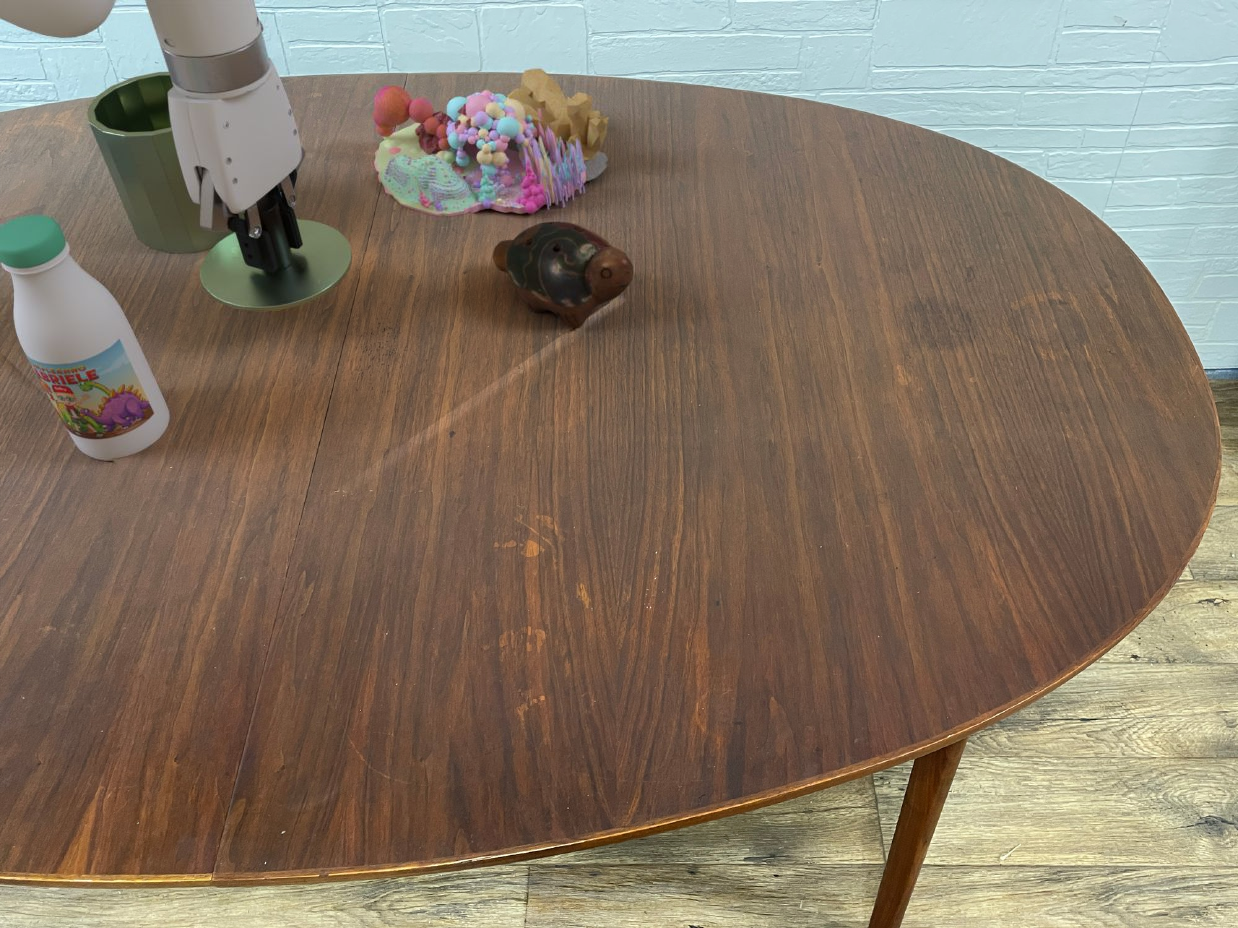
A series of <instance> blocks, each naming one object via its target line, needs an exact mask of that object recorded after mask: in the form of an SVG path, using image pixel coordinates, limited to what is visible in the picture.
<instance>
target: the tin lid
mask: <svg viewBox="0 0 1238 928" xmlns="http://www.w3.org/2000/svg"><path fill="white" fill-rule="evenodd" d="M256 204H257V208H258V213H259V218H260V223H261V228H262V230H263V231H266V232H268V234H269V236H270V240H271V243H272V246H273V250H274V253H275V257H276V260H277V264H278V269H277V270H276V271H275V272H273V273H272V272H268V271H265V270H261V269H258V268H254V267H251V266H248V265H247V264H246V263H245V262H244V259H243V255H242V252H241V249H240V246H239V243H238V240H237V237H236V233H235V232H234V233H233V234H231V235H229V236H227V237H226V238H224V239H223V240H221V241H220V242H218V243H217V244H216V245H215V246H214V247H213V248H212V249H209V251H208V252H207V253H206V254H205V256H204V257H203V260H202V262H201V264H200V268H199V269H200V270H199V271H200V272H199V276H200V277H199V278H200V281H201V284H202V287H203V289H204V291H205V292H206V293H207V294H208V295H209V296H210V298H212V299H213V300H214V301H216V302H217V303H219V304H221V305H223V306H226V307H229V308H232V309H235V310H240V311H246V312H247V311H248V312H263V313H264V312H276V311H281V310H283V311H284V310H287V309H292V308H296V307H300V306H302V305H305V304H308V303H310V302H313V301H315V300H318V299H319V298H322V297H323V296H325V295H326V294H329V292H331V291H332V290H334V289H335V288H336V287H337V286H339V284H341V283H342V282H343V280H344V279H345V278H346V277H347V275H348V273H349V272H350V270H351V266H352V264H353V251H352V247H351V245H350V243H349V240H348V239H347V238H346V237H345V236H344V235H343V234H342V233H341V232H340V231H339V230H338V229H336V228H334V227H332V226H330V225H327V224H325V223H322V222H319V221H314V220H309V219H300V218H299V219H298V218H296V220H297V223H298V227H299V231H300V235H301V238H302V242H303V245H302V246H301V247H300V248H299V249H294V248H290V244H289V241H288V237H287V233H286V230H285V226H284V222H283V219H282V215H281V212H280V208H279V204H278V201H277V199H276V198H275V197H274V196H272V195H267V194H265V195H264V196H263V197H262V198H261V199H259V200H258V201H257V202H256Z"/></svg>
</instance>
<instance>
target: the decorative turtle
mask: <svg viewBox="0 0 1238 928" xmlns="http://www.w3.org/2000/svg"><path fill="white" fill-rule="evenodd" d="M492 260H493V263H494V265H495V266H496V268H497V269H498V270H499V271H501V272H503V273H506V274H507V276H508V278H509V280H510V282H511V284H512V285H513V287H514V288H515V290H516V291H517V292H518V293H519V295H520V297H521V299H522V301H523V303H524V304H525V306H526V307H527V309H528V310H529V311H530V312H532V313H535V314H540V313H544V312H546V311H549V312H552V313H554V314H555V315H557V317H558V318H559V319H560V320H561V321H562V323H563V324H564V325H565V326H568V327H569V328H571V329H572V330H576V329H580V328H581V327H582V326H583V325H584V324H585V322H586V321H587V319H588V318H589V316H590V314H591V313H592V312H593V310H594V309H596V307H597V306H599V305H602V304H604V303H606V302H608V301H612V300H614V299H615V298H617V297H618V296H620V295H621V294H622V293H623V292H624V291H626V289H627V288H628V287H629V286H630V283H632V281H634V280H633V279H634V265H633V263H632V261H631V260H630V258H629V256H628V255H627V253H625V252H624V251H623V250H622V249H620V248H618V247H615V246H613V245H611V244H610V243H609V241H607V240H606V239H605V238H604V237H602V236H601V235H600V234H598V233H596V232H594V231H592V230H591V229H590V228H587V227H585V226H583V225H581V224H576V223H571V222H567V221H546V222H540V223H537V224H534V225H532V226H529V227H528V228H525V229H524V230H522V231H521V232H520V233H519V234H517V235H516V237H514V239H505V240H504V239H503V240H501V241H499V242H498V243H497V244H496V245H495V247H494V248H493V253H492Z"/></svg>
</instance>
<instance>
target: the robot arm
mask: <svg viewBox="0 0 1238 928" xmlns="http://www.w3.org/2000/svg"><path fill="white" fill-rule="evenodd" d="M144 1H145V4H146V8H147V10H148V14H149V17H150V19H151V23H152V25H153V29H154V32H155V35H156V38H157V41H158V44H159V47H160V50H161V53H162V56H163V59H164V62H165V65H166V68H167V72H169V74H170V77H171V80H172V83H173V86H174V87H173V88H172V89H170V90H169V91H168V104H169V114H170V121H171V127H172V132H173V137H174V142H175V146H176V151H177V155H178V158H179V162H180V166H181V169H182V173H183V176H184V180H185V183H186V186H187V189H188V192H189V195H190V197H191V199H192V201H193V202H194V203H196V204H201V208H200V227H201V228H202V229H204V230H208V231H211V232H226V231H231V232H235V233H236V237H237V240H238V243H239V246H240V249H241V252H242V255H243V259H244V262H245V263H246V264H247V265H248V266H251V267H254V268H258V269H261V270H265V271H268V272H272V273H273V272H275V271H276V270H277V269H278V264H277V260H276V257H275V253H274V250H273V246H272V243H271V240H270V236H269V234H268V232H266V231H263V230H262V228H261V223H260V218H259V213H258V208H257V204H256V202H257V201H258V200H259V199H261V198H262V197H263V196H264V195H265V194H267V195H272V196H274V197H275V198H276V199H277V201H278V204H279V208H280V212H281V215H282V219H283V222H284V226H285V230H286V233H287V237H288V241H289V244H290V248H294V249H299V248H300V247H301V246H302V245H303V242H302V238H301V235H300V231H299V227H298V223H297V220H296V219H297V216H296V213H295V209H294V208H293V207H295V205H296V204H297V201H298V199H297V194H296V192H295V187H296V184H297V179H298V172H299V170H300V168H301V166H302V164H303V161H304V159H305V157H306V150H305V149H304V147H303V146H302V145H301V139H300V135H299V131H298V127H297V124H296V119H295V117H294V113H293V110H292V106H291V104H290V101H289V97H288V95H287V92H286V89H285V87H284V84H283V82H282V80H281V77H280V74H279V73H278V71H277V68H276V66H275V64H274V62H273V60H272V59H271V57H269V53H268V49H267V45H266V42H265V39H264V38H265V37H264V34H263V32H264V25H263V23H262V21H261V20H260V18H259V13H258V10H257V7H256V3H255V0H144ZM116 2H117V0H0V20H2V21H3V22H4V21H5V22H6V23H9V24H11V25H13V26H16V27H18V28H21V29H22V30H26V31H29V32H32V33H34V34H35V33H36V34H38V35H42V36H45V37H52V38H58V39H70V38H71V39H73V38H78V37H82V36H86V35H88V34H90V33H92V32H94V31H95V30H97V29H98V28H99V27H100V26H102V25H103V24H104V23H105V22H106V20H107V19H108V17H110V14H111V13H112V11H113V9H114V6H115V4H116ZM240 212H243V213H244V218H245V220H244V219H242V218H239V214H238V213H240Z"/></svg>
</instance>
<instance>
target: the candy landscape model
mask: <svg viewBox="0 0 1238 928" xmlns="http://www.w3.org/2000/svg"><path fill="white" fill-rule="evenodd" d="M520 85H521V86H520V88H518V87H516V88H515V89H513V90H512V91H511V92H509V94H507V95H506V96H505V94H502V93H495V94H494V92H491V91H490V90H489V89H484V90H482V92H479V91H477V92H475V93H472V94H470V95H468V96H467V97H464V96H460V95H459V96H455V97H453V98H451V99H450V100H449V101H448V102H447V105H446V113H444V111H443V110H439V111H435V112H434V107H433V104H432V103H431V102H430V100H428V99H427V98H424V97H416V98H414V99H412V98H411V95H410V94H409V93H408V91H407V90H405V89H404V88H403V87H401V86H398V85H387V86H385V87H382V88H381V89H379V90H378V91H377V93H376V95H375V97H374V99H373V100H374V101H373V105H374V106H373V107H374V110H373V115H372V116H373V121H374V123H375V125H376V131H377V134H378V135H379V136H381V137H382V138H383V139H384V140H382V141H381V142H380V143H379V146H378V149H376V150H375V152H374V155H375V158H374V159H375V160H374V161H373V164H374V168H375V172H376V173H378V174H377V177H378V182H379V183H381V184H382V187H383V188H384V192H385V194H386V195H388V196H391V197H393V198H394V200H395V201H396V202H398V203H399V206H401V207H405V208H408V209H411V210H414V211H417V212H421V213H423V214H427V215H431V216H434V217H449V218H450V217H453V216H461V215H465V214H467V213H471V214H475V213H477V212H479V211H483V210H489V209H490V210H493V211H497V212H501V213H507V214H508V213H515V214H519V215H522V214H526V213H528V214H534V213H536V212H537V211H538V210H540V208H543V206H544V205H546V208H547V211H550V207H551V206H552V204H554V203H555V205H556V206H558V205H559V202H562V203H561V204H562V208H565V207H566V202H568V199H569V198H571V197H572V198H571V199H572V201H573V202H574V201H575V191H577V190H578V191H579V192H578V193H579V194H585V193H586V189H585V188H586V187H585V183H586V182H589V181H591V180H594V179H596V178H598V177H599V176H600V175H601V174H602V173H603V172H604V171H605V170H606V169H607V168H608V165H607V162H608V160H609V158H608V157H607V154H606V153H604V152H602V151H600V148H601V147H602V146H603V143H604V140H605V138H606V136H607V133H608V123H609V119H610V118H609V116H602V115H601V110H592V107H593V103H594V97H592V96H590V95H589V94H588V93H585V92H581V91H578V92H577V93H575V94H574V95H573V96H572V97H569V96H567V98H566V97H565V95H564V93H563V90H562V88H561V87H560V86H559V84H558V83H557V82H556V81H555V80H554V78H553V77H551V75H550V74H548V73H547V72H546V71H545V70H543V69H542V68H530V69H525V70H524V72H523V73H522V75H521V84H520ZM410 119H411V120H412V121H413V122H414V123H412V124H411V125H409V126H407V127H404V128H401V129H399V130H397V131H394V129H395V127H396V126H400V125H403V124H405V123H406V122H408V121H409V120H410ZM565 201H566V202H565Z"/></svg>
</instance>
